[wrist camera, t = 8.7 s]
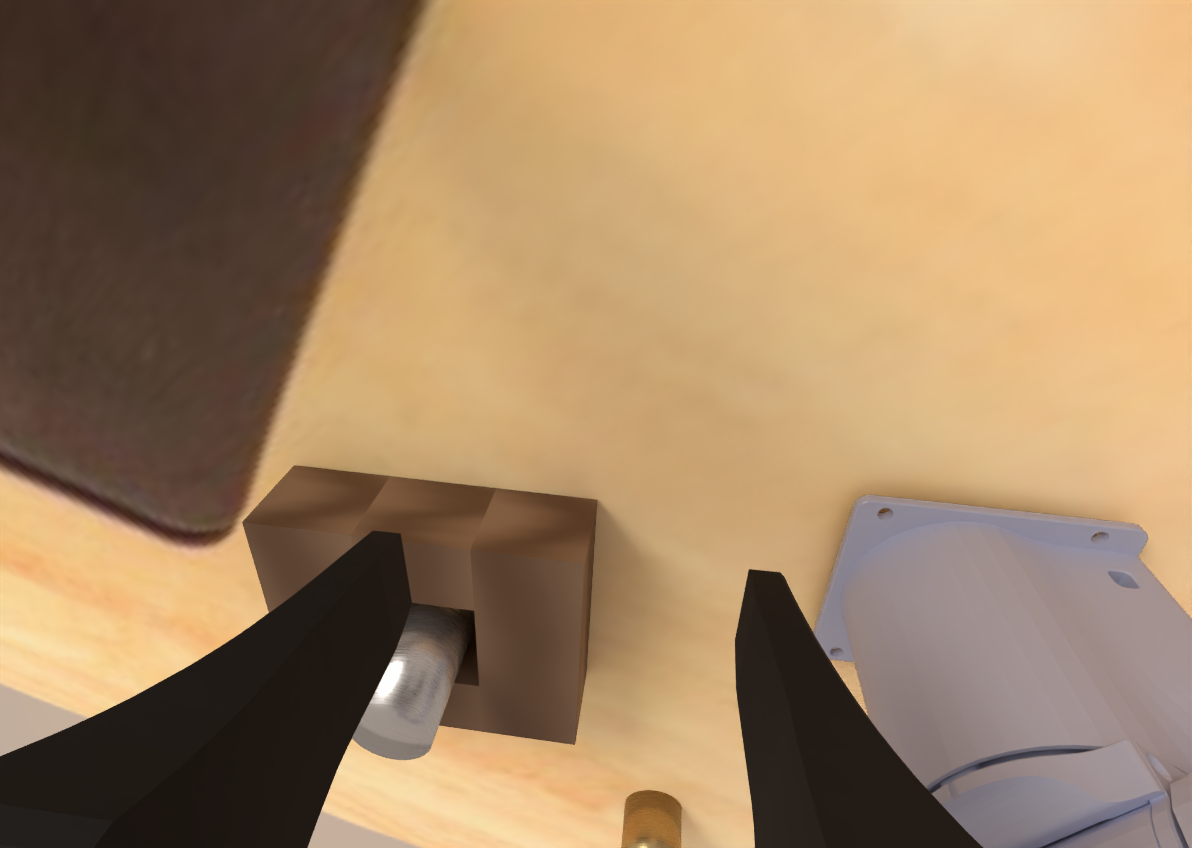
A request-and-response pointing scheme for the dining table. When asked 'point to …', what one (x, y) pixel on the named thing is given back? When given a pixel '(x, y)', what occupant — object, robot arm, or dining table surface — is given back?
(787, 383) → the dining table surface
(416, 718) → the steel pin
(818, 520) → the dining table surface
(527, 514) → the walnut block
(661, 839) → the brass pin
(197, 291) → the dining table surface
